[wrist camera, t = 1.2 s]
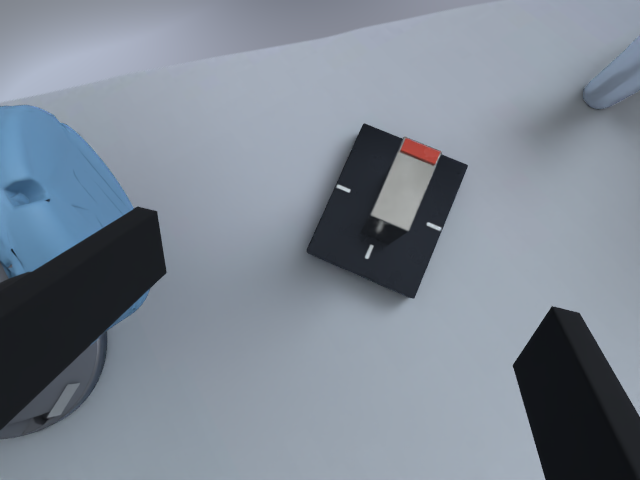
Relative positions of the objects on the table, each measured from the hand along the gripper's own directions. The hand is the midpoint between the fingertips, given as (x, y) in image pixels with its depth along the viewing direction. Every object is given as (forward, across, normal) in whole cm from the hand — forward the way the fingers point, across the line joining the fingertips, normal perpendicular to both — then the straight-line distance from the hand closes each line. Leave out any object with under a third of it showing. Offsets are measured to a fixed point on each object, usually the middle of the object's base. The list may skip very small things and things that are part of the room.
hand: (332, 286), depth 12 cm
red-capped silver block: (+21, +2, -7) cm, 22 cm away
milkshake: (+35, +21, +4) cm, 41 cm away
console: (+23, +2, -8) cm, 24 cm away
